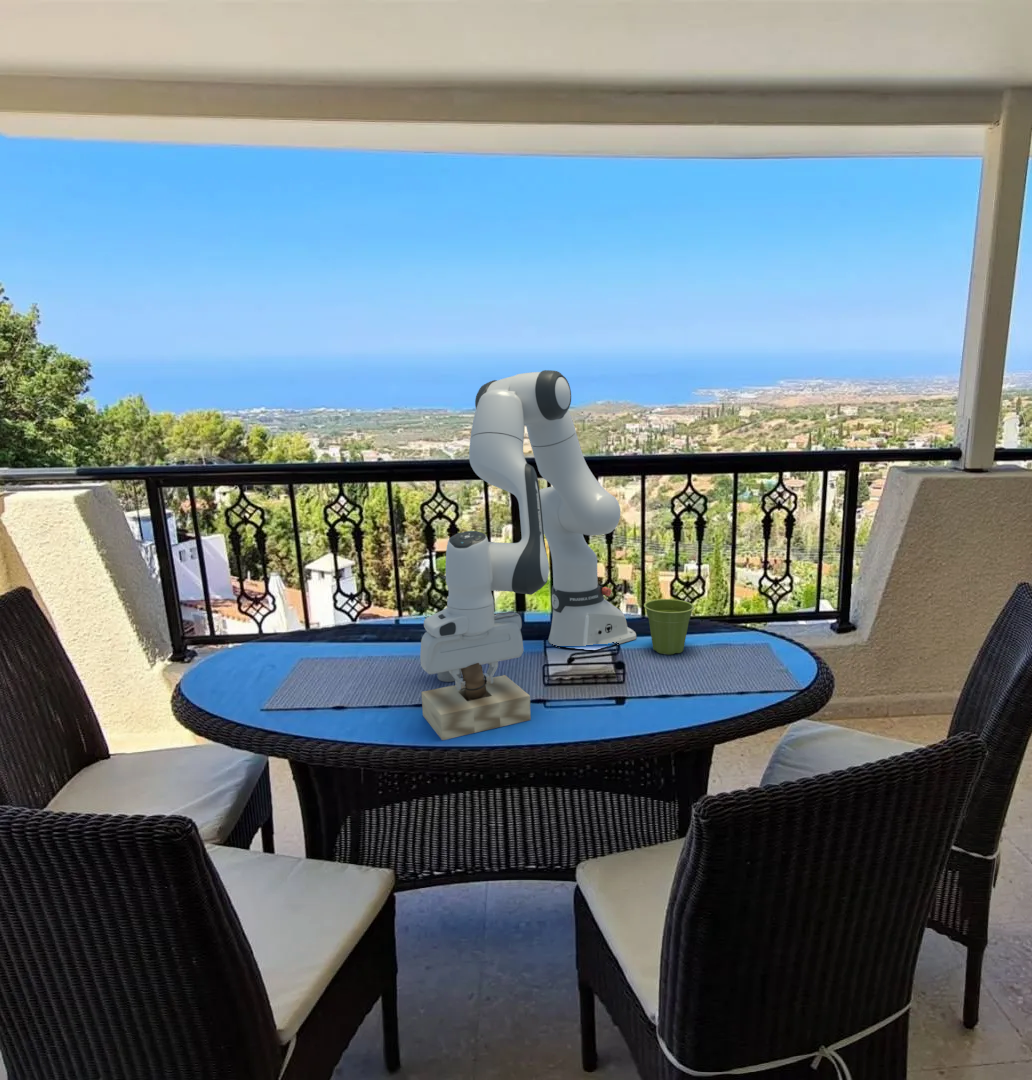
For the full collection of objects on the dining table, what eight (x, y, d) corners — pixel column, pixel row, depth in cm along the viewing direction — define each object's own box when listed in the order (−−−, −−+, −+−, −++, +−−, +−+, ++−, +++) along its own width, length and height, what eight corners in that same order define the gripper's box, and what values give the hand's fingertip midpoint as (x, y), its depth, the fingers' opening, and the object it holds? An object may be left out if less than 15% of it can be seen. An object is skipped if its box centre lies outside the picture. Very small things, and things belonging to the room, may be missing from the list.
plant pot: (698, 658, 170) (699, 611, 168) (647, 659, 171) (647, 613, 168) (688, 641, 182) (688, 597, 180) (640, 642, 182) (640, 599, 180)
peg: (484, 698, 146) (475, 654, 143) (493, 707, 142) (484, 661, 139) (465, 706, 144) (456, 661, 141) (473, 715, 140) (464, 669, 137)
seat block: (505, 697, 152) (505, 675, 151) (530, 719, 141) (529, 695, 140) (422, 715, 145) (421, 691, 144) (442, 740, 134) (440, 714, 133)
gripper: (514, 605, 146) (516, 670, 148) (415, 621, 138) (419, 690, 140) (527, 613, 140) (529, 681, 143) (425, 630, 132) (429, 702, 135)
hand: (474, 686), depth 141 cm, fingers closed on peg, 4 cm apart
